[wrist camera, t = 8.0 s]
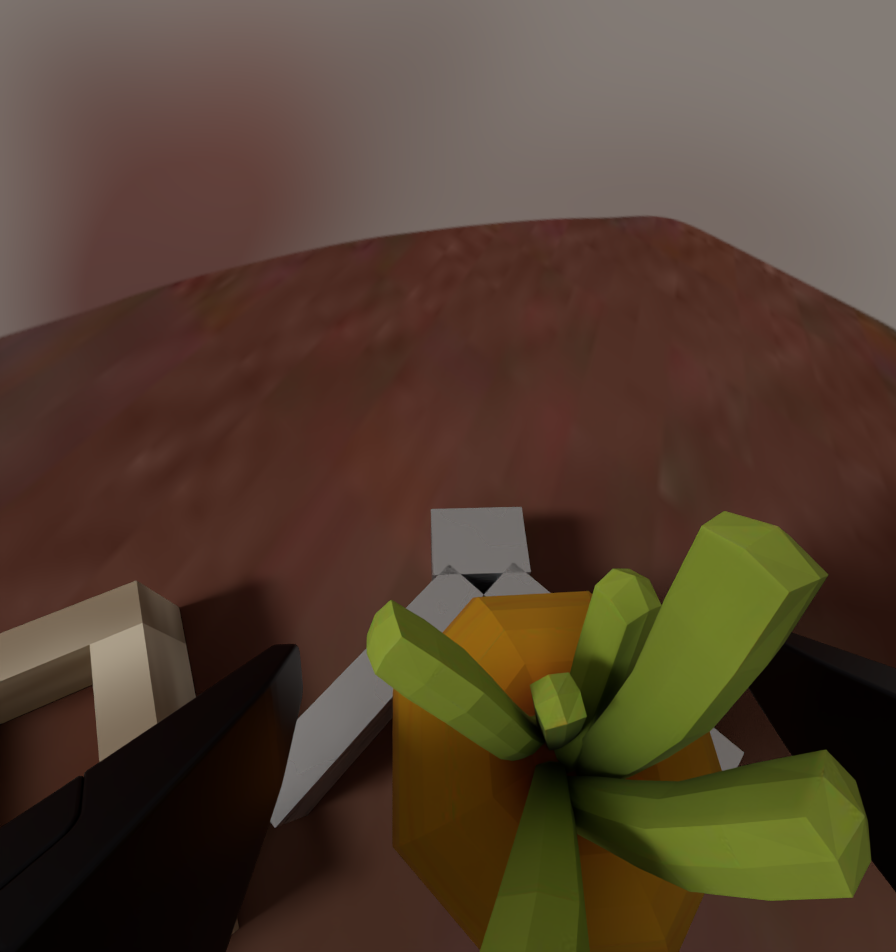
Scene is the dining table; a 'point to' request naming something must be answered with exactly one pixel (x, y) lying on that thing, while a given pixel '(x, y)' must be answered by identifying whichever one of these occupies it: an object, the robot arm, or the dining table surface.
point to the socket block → (102, 663)
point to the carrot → (610, 754)
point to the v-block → (453, 585)
